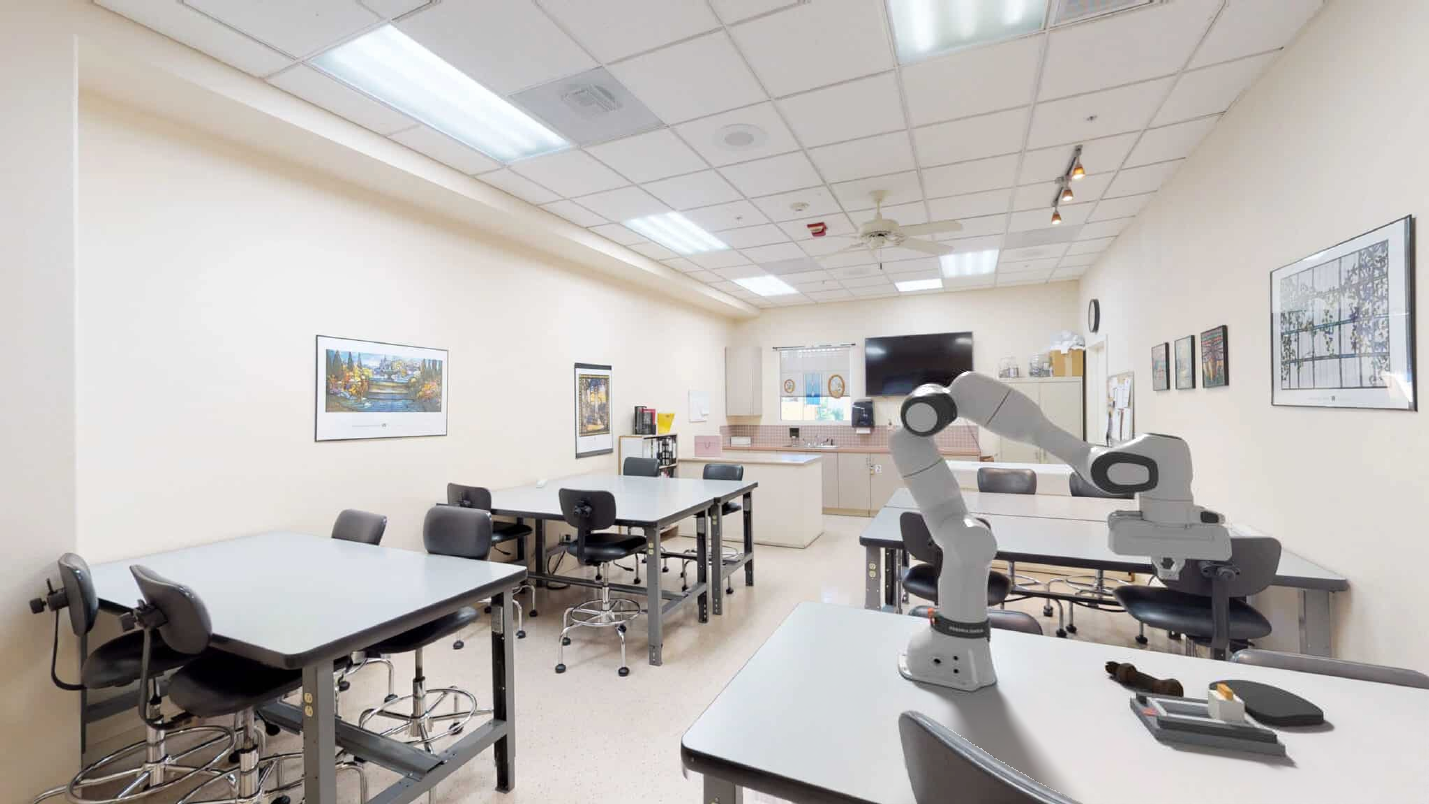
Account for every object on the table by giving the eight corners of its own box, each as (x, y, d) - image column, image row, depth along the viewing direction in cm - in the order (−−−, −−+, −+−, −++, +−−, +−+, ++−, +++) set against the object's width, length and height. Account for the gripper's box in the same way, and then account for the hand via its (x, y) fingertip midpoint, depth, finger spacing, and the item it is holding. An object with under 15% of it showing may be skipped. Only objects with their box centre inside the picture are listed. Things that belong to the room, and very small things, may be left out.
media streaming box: (1335, 726, 111) (1335, 711, 111) (1268, 729, 110) (1267, 714, 110) (1259, 690, 126) (1259, 676, 126) (1199, 693, 125) (1199, 679, 125)
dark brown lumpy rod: (1112, 681, 134) (1179, 711, 119) (1097, 673, 133) (1163, 702, 118) (1119, 659, 135) (1187, 685, 121) (1105, 650, 134) (1172, 676, 119)
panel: (1155, 738, 107) (1154, 719, 107) (1130, 707, 119) (1129, 690, 119) (1285, 756, 101) (1284, 736, 101) (1245, 721, 113) (1245, 703, 113)
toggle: (1219, 725, 108) (1218, 691, 108) (1208, 714, 111) (1207, 681, 111) (1245, 728, 106) (1243, 694, 106) (1232, 717, 110) (1231, 684, 110)
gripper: (1112, 512, 114) (1115, 579, 114) (1235, 516, 108) (1237, 587, 108) (1101, 507, 120) (1103, 570, 120) (1217, 510, 114) (1219, 578, 114)
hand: (1168, 578), depth 114 cm, fingers closed
